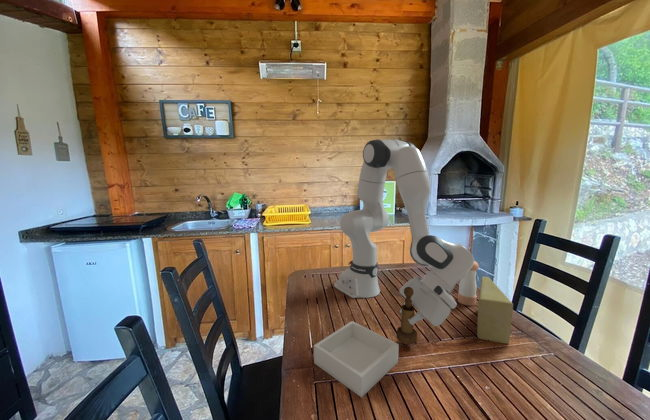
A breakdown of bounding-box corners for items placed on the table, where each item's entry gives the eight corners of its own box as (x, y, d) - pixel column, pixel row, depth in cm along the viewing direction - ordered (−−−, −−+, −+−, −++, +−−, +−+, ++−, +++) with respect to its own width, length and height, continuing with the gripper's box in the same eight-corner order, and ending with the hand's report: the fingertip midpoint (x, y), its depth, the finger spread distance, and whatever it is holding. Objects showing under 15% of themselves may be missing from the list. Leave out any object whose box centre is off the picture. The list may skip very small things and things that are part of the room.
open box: (314, 363, 84) (313, 345, 83) (352, 336, 97) (352, 320, 96) (361, 397, 72) (361, 377, 71) (398, 362, 84) (398, 344, 83)
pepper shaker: (471, 297, 123) (475, 256, 120) (479, 306, 116) (482, 262, 113) (454, 297, 124) (457, 255, 121) (461, 305, 117) (464, 261, 113)
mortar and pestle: (418, 345, 88) (421, 293, 85) (397, 343, 89) (399, 292, 86) (415, 332, 95) (417, 283, 91) (395, 331, 96) (397, 282, 92)
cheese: (468, 307, 115) (471, 273, 113) (495, 311, 112) (499, 276, 109) (476, 339, 95) (480, 298, 92) (509, 345, 91) (514, 303, 89)
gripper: (412, 269, 100) (386, 297, 100) (448, 295, 80) (416, 331, 80) (422, 279, 102) (397, 307, 101) (460, 308, 82) (429, 343, 82)
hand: (405, 318), depth 90 cm, fingers closed on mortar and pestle, 4 cm apart
